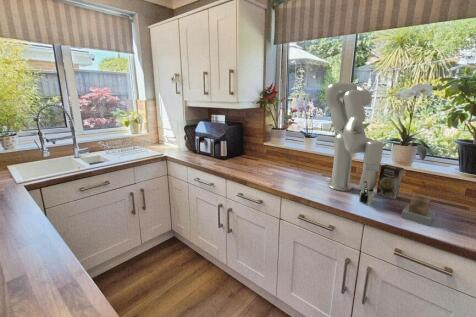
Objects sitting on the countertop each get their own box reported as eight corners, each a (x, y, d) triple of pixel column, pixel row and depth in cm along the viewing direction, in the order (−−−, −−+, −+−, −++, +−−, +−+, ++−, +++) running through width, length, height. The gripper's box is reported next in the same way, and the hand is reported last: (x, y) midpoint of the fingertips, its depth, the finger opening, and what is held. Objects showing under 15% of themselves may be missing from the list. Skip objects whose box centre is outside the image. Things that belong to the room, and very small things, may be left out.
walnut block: (408, 211, 110) (411, 198, 109) (411, 207, 114) (414, 194, 113) (425, 216, 106) (428, 202, 105) (427, 211, 110) (430, 198, 109)
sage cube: (358, 201, 127) (360, 192, 126) (362, 198, 131) (363, 189, 130) (369, 204, 124) (370, 195, 123) (372, 201, 127) (374, 192, 126)
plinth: (400, 217, 111) (402, 211, 110) (406, 210, 118) (407, 204, 117) (428, 225, 104) (430, 219, 103) (433, 218, 111) (434, 211, 110)
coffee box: (375, 194, 137) (380, 165, 133) (380, 191, 141) (385, 163, 137) (394, 199, 130) (399, 169, 126) (398, 196, 134) (404, 167, 130)
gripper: (369, 161, 131) (364, 194, 136) (356, 167, 119) (351, 203, 124) (385, 164, 126) (379, 198, 131) (373, 171, 114) (367, 207, 119)
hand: (366, 200), depth 127 cm, fingers open, 6 cm apart
